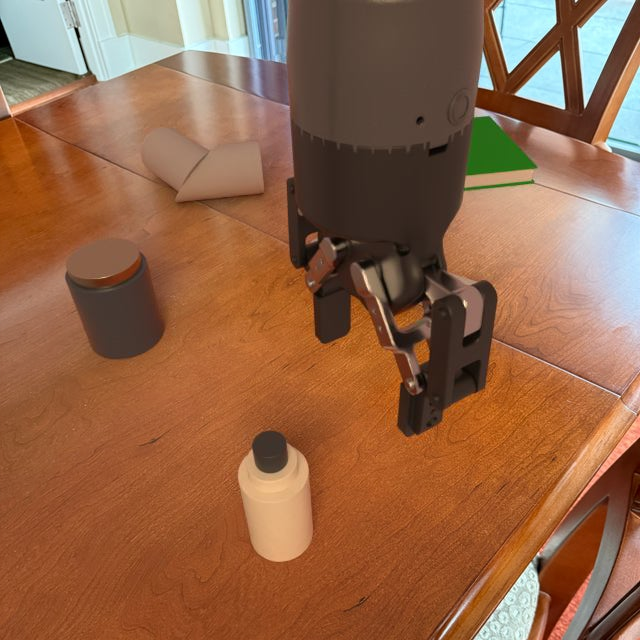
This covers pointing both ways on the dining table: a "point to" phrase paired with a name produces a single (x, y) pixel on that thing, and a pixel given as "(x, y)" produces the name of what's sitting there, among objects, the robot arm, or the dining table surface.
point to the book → (495, 158)
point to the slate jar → (114, 297)
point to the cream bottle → (276, 497)
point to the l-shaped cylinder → (203, 166)
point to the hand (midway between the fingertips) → (371, 378)
